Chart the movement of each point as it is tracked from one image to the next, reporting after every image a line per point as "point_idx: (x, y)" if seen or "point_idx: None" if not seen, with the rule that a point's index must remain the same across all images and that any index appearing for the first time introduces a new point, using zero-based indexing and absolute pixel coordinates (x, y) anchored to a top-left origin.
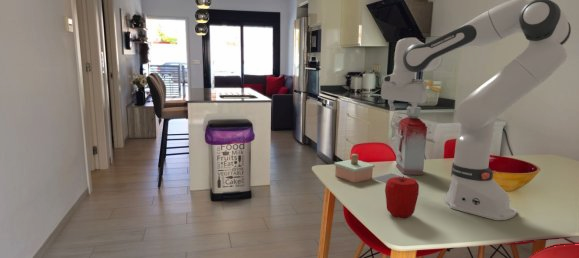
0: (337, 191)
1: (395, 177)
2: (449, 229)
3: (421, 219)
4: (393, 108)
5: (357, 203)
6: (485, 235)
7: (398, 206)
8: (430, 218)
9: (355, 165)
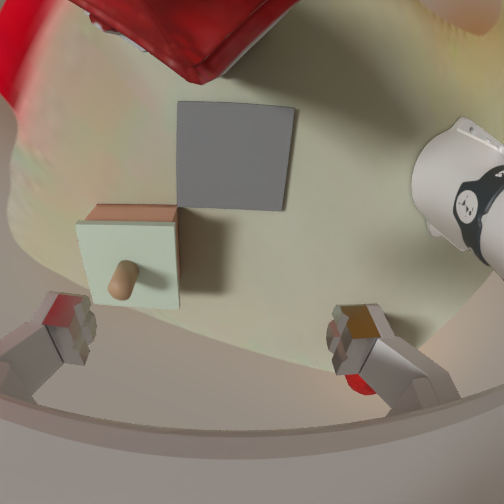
0: (198, 331)
1: (366, 383)
2: (434, 308)
3: (394, 313)
4: (82, 331)
5: (274, 344)
6: (473, 286)
7: None
8: (406, 299)
9: (145, 280)
